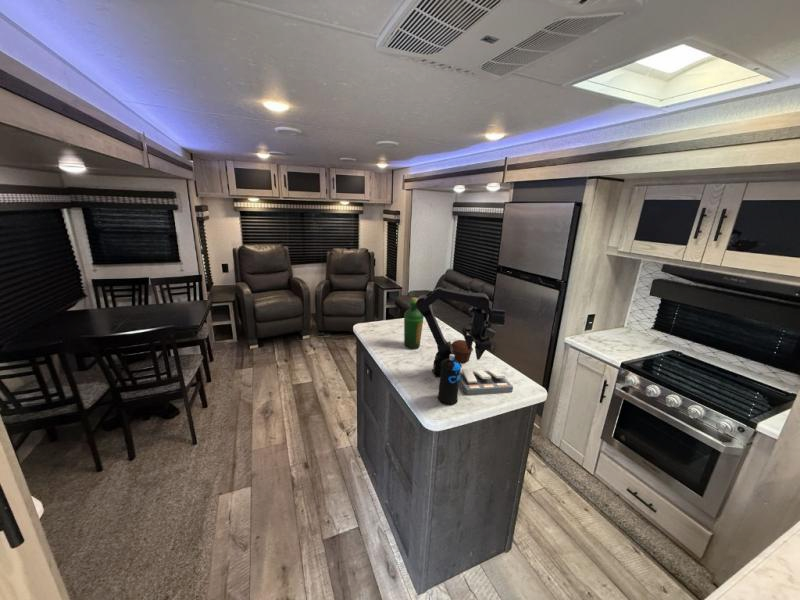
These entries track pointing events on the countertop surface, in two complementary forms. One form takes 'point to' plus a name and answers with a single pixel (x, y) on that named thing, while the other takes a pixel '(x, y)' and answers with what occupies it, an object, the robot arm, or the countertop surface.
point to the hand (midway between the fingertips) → (473, 354)
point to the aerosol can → (449, 381)
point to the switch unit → (485, 385)
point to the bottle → (412, 326)
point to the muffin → (461, 351)
